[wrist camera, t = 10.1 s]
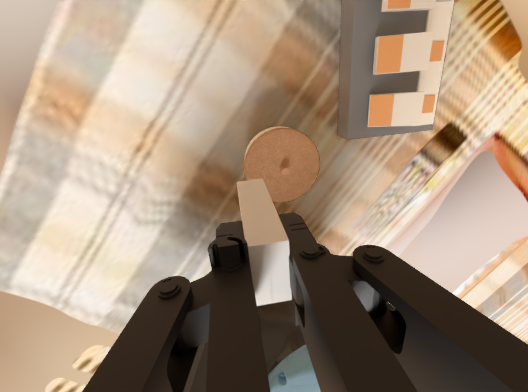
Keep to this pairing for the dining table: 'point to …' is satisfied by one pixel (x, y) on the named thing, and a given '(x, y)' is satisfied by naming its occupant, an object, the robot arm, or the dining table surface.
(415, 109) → the switch
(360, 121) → the switch unit
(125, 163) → the dining table surface
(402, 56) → the switch
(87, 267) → the dining table surface
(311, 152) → the lidded jar
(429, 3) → the switch
